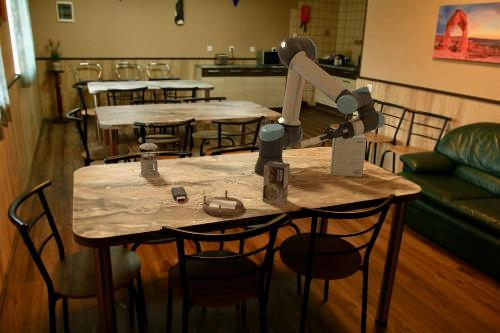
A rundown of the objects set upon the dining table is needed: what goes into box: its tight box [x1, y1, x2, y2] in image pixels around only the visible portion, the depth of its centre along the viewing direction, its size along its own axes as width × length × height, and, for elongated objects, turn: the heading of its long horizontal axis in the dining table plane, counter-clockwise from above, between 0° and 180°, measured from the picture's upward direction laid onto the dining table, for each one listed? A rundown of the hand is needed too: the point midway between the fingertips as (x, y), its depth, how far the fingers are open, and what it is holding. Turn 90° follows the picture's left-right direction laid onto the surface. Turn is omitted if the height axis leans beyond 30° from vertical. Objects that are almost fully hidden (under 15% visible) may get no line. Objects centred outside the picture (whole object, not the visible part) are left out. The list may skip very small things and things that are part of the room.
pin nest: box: [202, 189, 244, 218], centre depth 159 cm, size 16×16×4 cm
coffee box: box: [262, 161, 290, 206], centre depth 167 cm, size 9×6×16 cm
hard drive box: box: [329, 134, 368, 178], centre depth 202 cm, size 16×8×20 cm, turn 84°
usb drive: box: [171, 186, 188, 203], centre depth 169 cm, size 5×12×3 cm, turn 17°
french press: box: [138, 122, 161, 179], centre depth 190 cm, size 10×12×25 cm
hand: (306, 143), depth 172 cm, fingers open, 13 cm apart
